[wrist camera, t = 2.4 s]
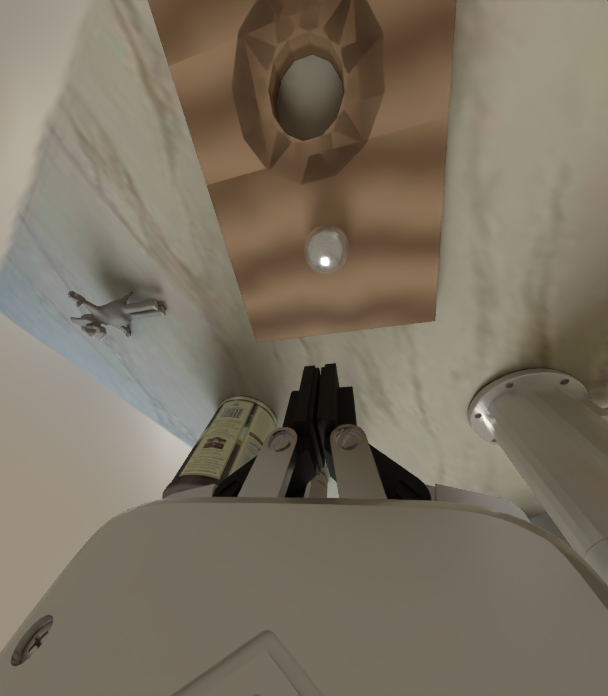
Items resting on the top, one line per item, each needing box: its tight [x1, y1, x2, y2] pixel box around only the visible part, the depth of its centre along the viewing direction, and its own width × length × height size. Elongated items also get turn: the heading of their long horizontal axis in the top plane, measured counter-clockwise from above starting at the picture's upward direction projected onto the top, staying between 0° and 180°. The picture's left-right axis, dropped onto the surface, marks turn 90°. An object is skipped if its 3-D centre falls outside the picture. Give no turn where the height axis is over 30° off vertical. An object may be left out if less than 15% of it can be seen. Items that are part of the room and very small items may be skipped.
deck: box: [148, 0, 456, 342], centre depth 21 cm, size 28×20×2 cm
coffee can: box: [163, 396, 277, 499], centre depth 33 cm, size 10×10×14 cm
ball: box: [304, 224, 349, 274], centre depth 21 cm, size 4×4×4 cm
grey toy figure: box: [68, 291, 166, 341], centre depth 29 cm, size 10×6×9 cm
